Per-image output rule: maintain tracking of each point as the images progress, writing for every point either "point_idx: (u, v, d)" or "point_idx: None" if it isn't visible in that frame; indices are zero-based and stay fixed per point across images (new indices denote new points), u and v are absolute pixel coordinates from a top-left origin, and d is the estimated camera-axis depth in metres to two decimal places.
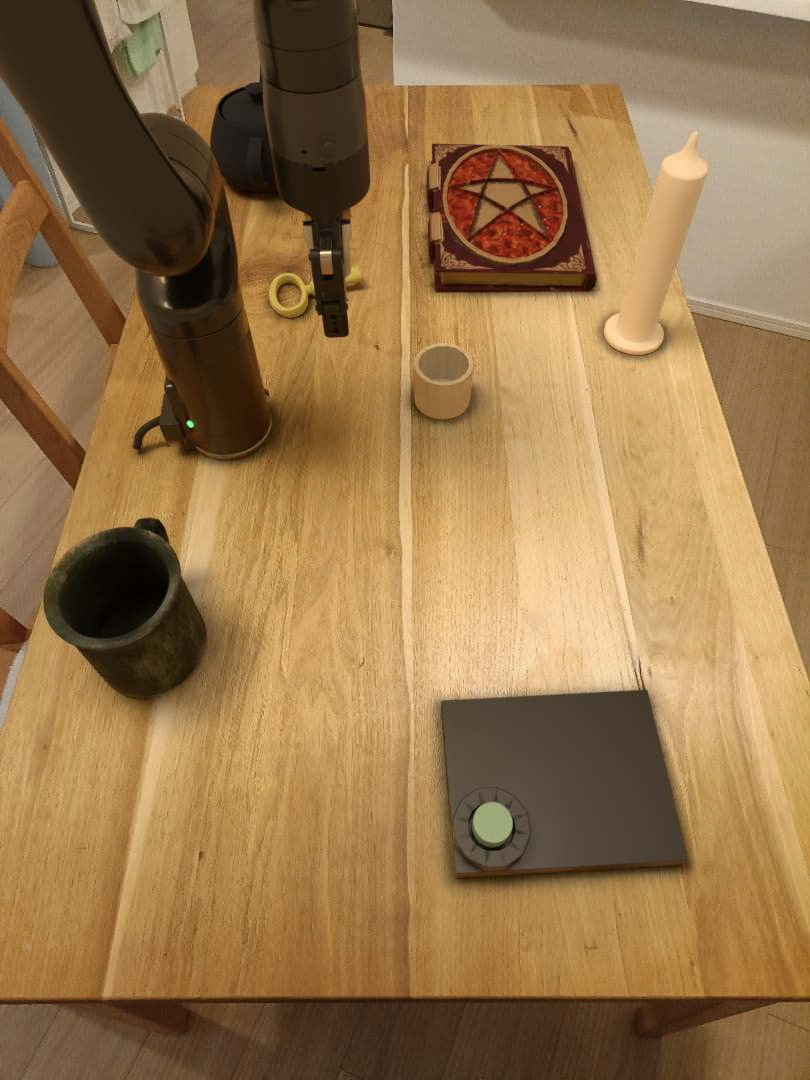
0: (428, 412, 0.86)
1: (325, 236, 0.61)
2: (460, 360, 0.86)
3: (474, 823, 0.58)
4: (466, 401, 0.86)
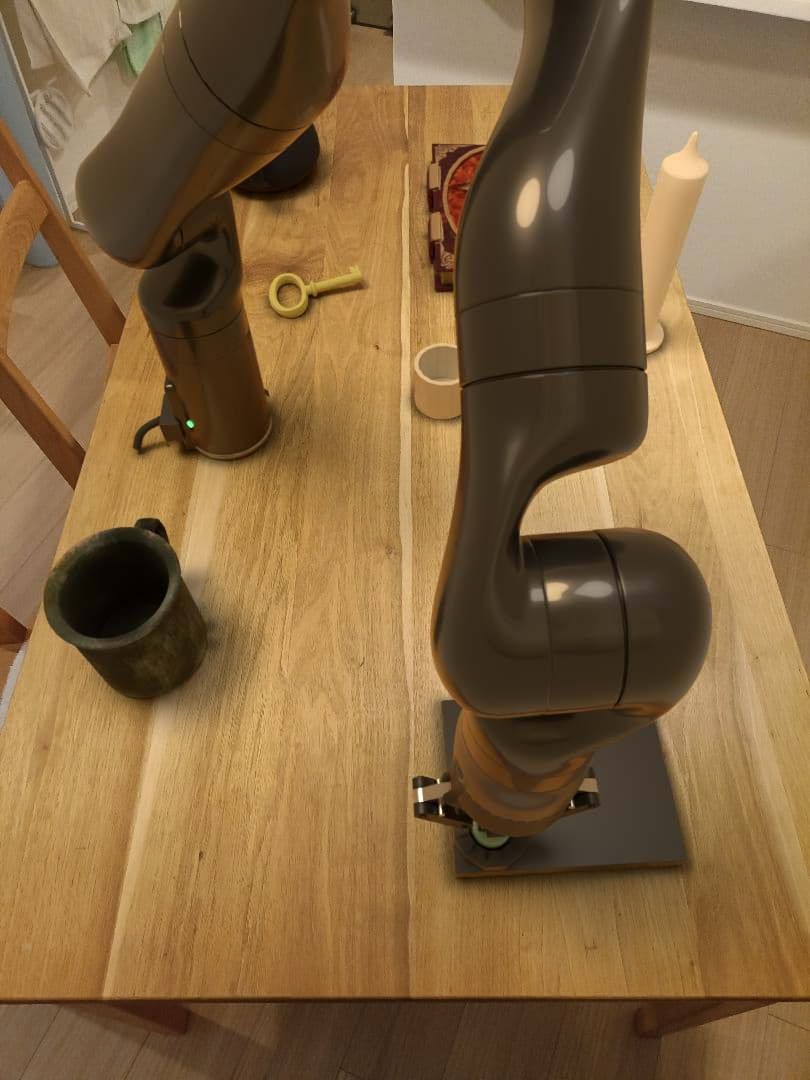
0: (428, 412, 0.86)
1: (441, 789, 0.50)
2: None
3: (474, 824, 0.58)
4: None
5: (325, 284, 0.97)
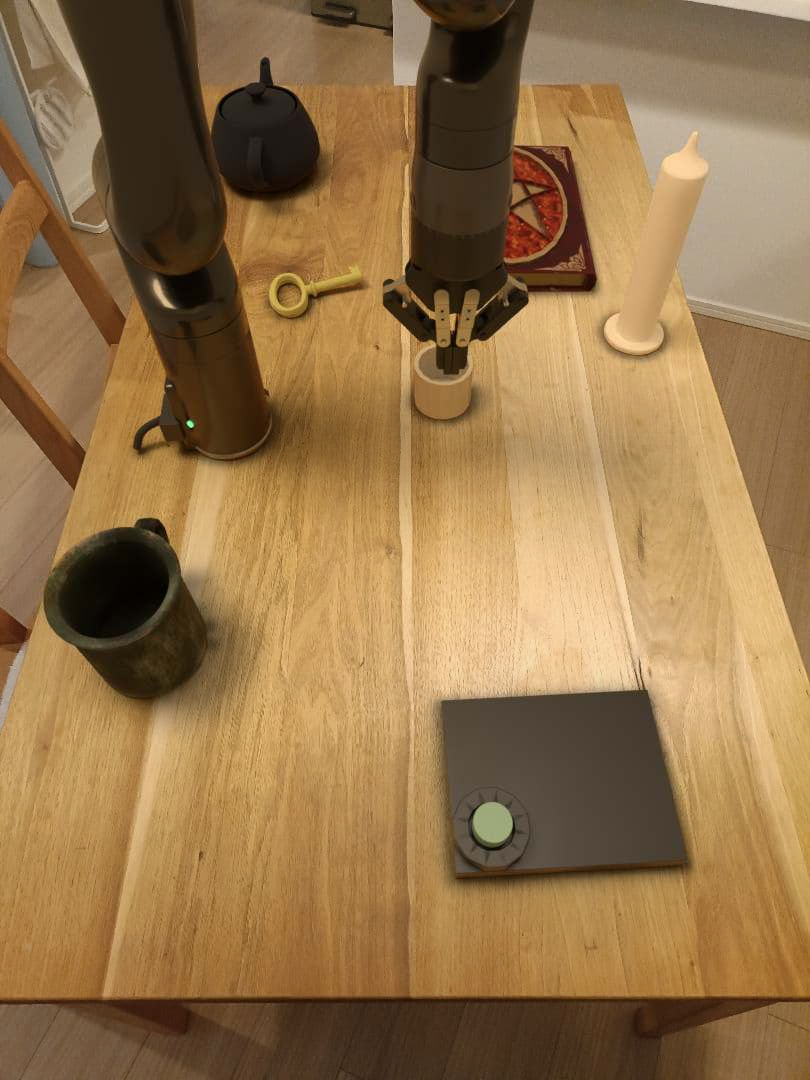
0: (428, 412, 0.86)
1: (404, 277, 0.64)
2: None
3: (474, 823, 0.58)
4: (466, 401, 0.86)
5: (325, 284, 0.97)
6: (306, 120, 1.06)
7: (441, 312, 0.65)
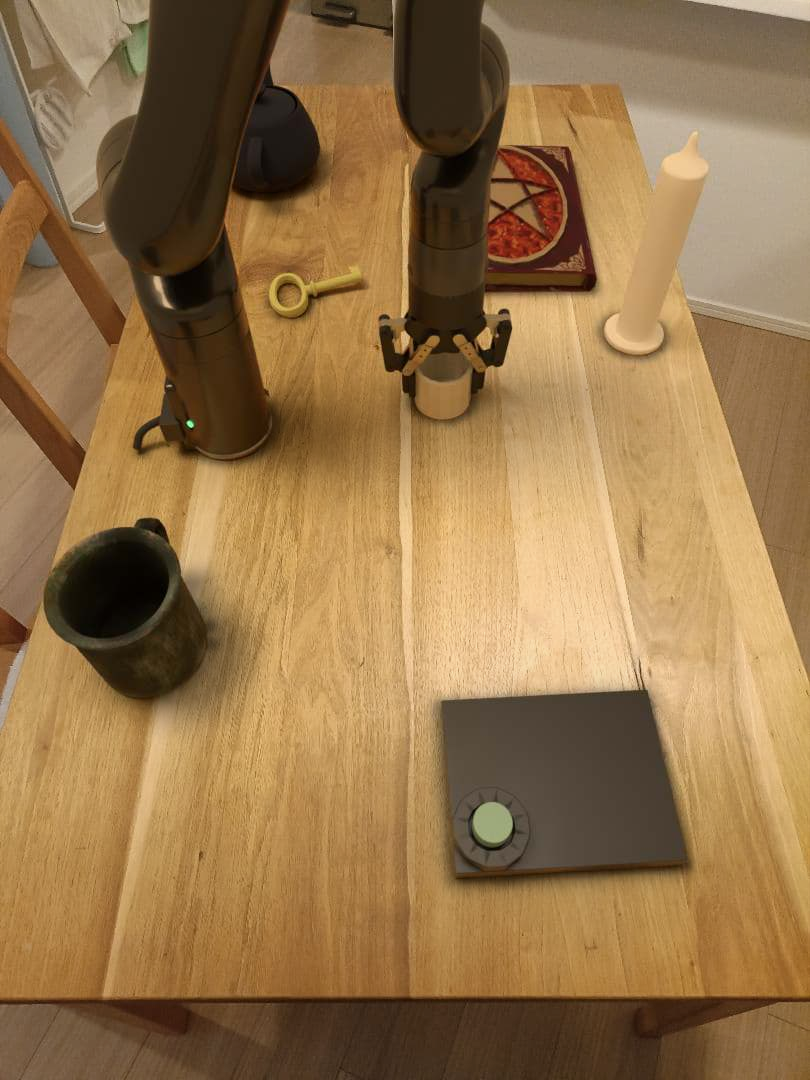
0: (428, 412, 0.86)
1: (403, 320, 0.78)
2: (460, 360, 0.86)
3: (474, 823, 0.58)
4: (466, 401, 0.86)
5: (325, 284, 0.97)
6: (306, 120, 1.06)
7: (423, 351, 0.80)
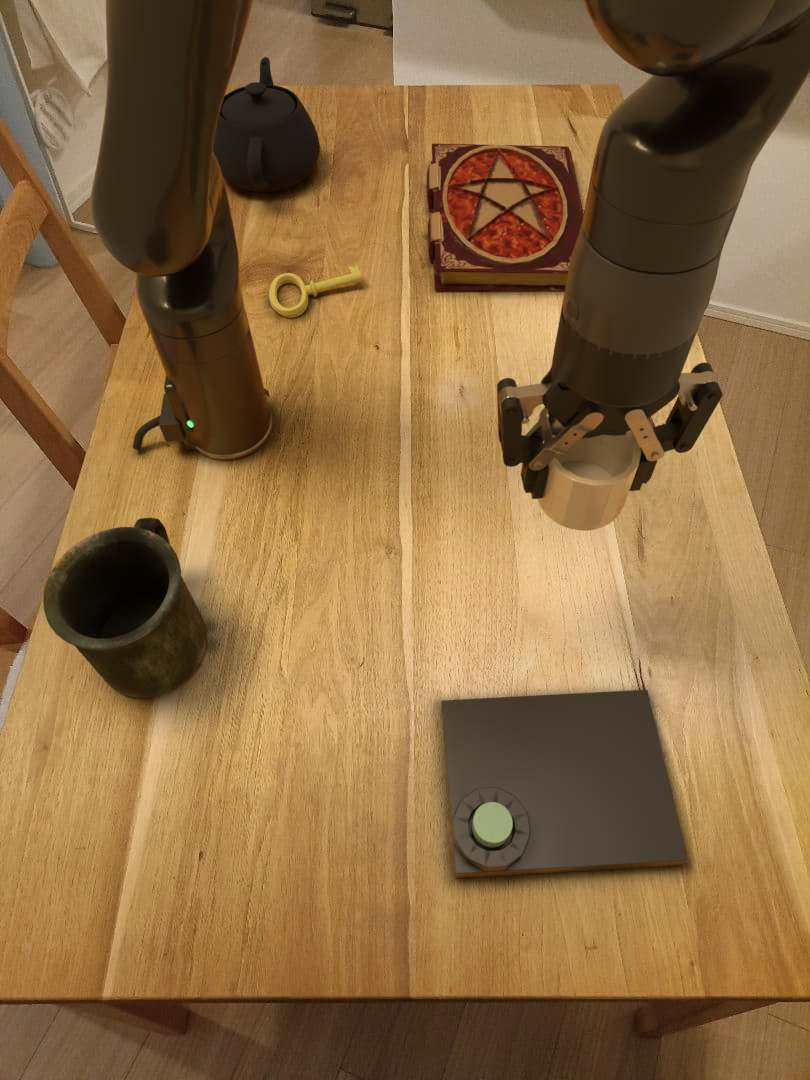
0: (564, 521, 0.55)
1: (541, 388, 0.47)
2: (613, 438, 0.55)
3: (474, 823, 0.58)
4: (624, 502, 0.55)
5: (325, 284, 0.97)
6: (306, 120, 1.06)
7: (572, 435, 0.49)
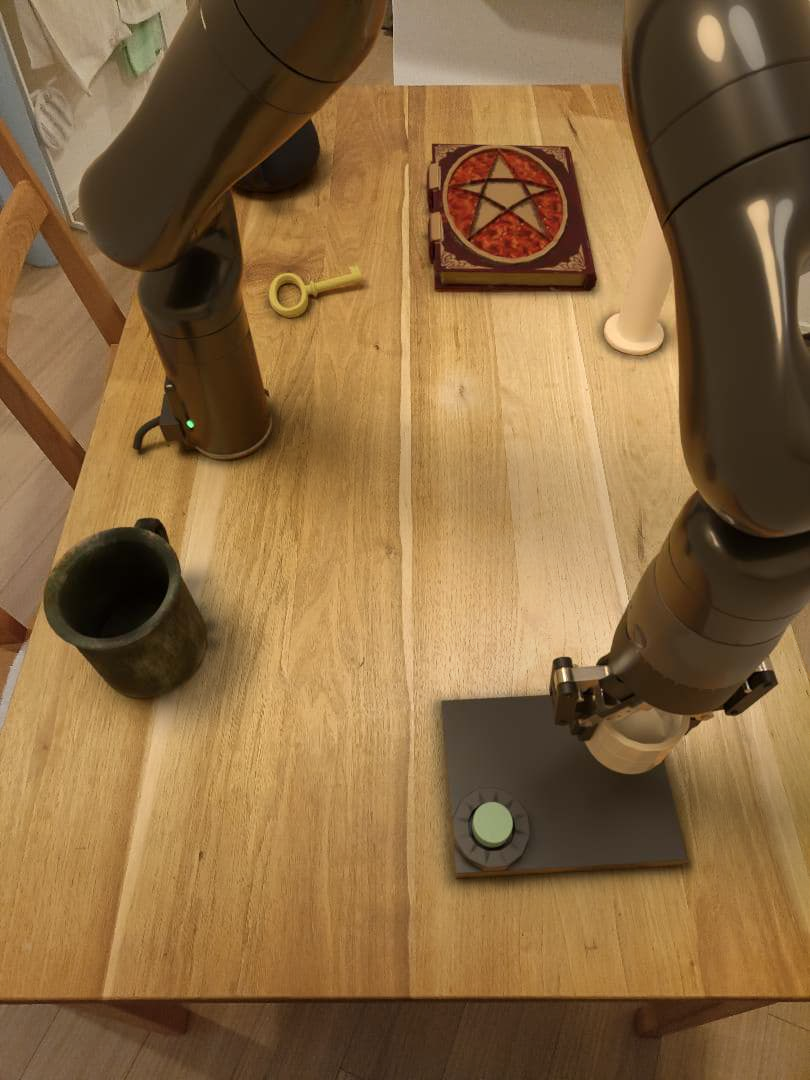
0: (610, 765, 0.55)
1: (598, 671, 0.48)
2: None
3: (474, 823, 0.58)
4: None
5: (325, 284, 0.97)
6: None
7: (626, 711, 0.49)
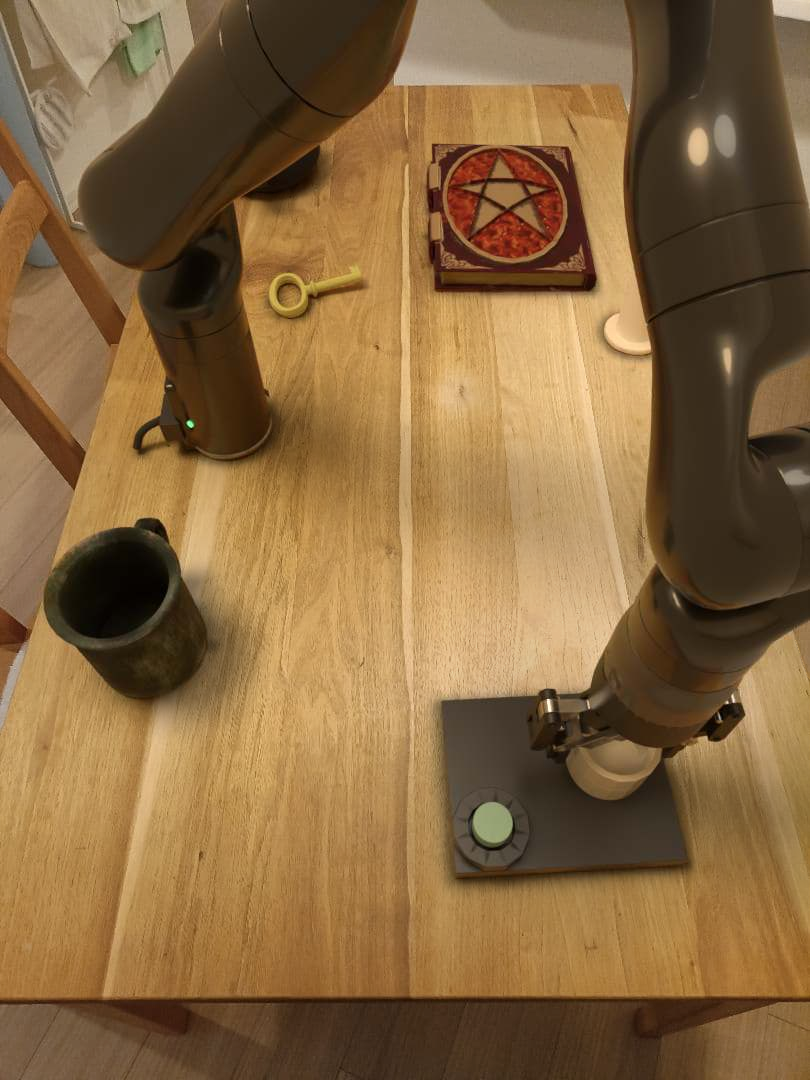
0: (591, 792, 0.61)
1: (580, 704, 0.52)
2: None
3: (474, 823, 0.58)
4: None
5: (325, 284, 0.97)
6: None
7: (601, 740, 0.53)
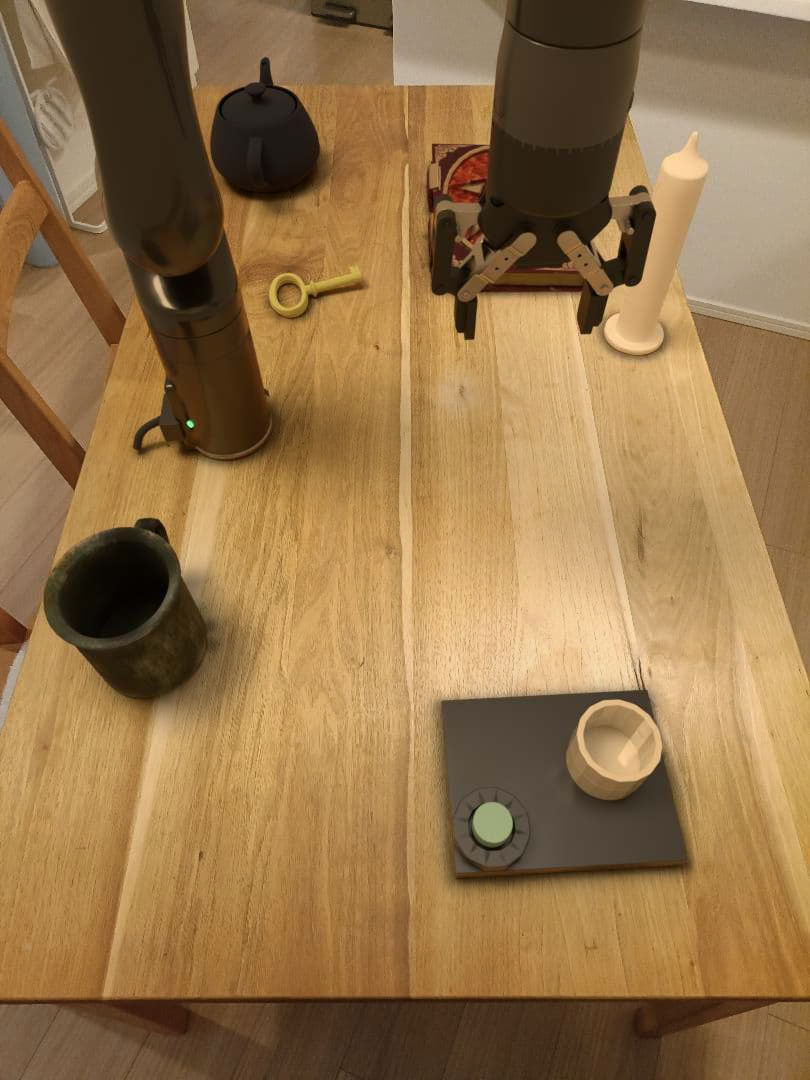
0: (591, 792, 0.61)
1: (477, 207, 0.48)
2: (637, 722, 0.61)
3: (474, 823, 0.58)
4: None
5: (325, 284, 0.97)
6: (306, 120, 1.06)
7: (503, 259, 0.49)
